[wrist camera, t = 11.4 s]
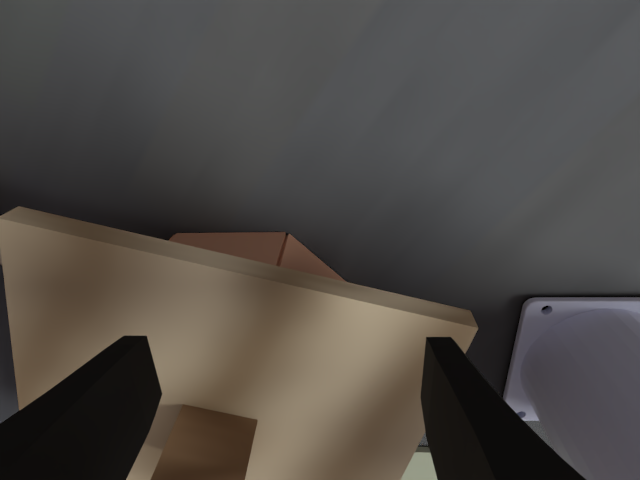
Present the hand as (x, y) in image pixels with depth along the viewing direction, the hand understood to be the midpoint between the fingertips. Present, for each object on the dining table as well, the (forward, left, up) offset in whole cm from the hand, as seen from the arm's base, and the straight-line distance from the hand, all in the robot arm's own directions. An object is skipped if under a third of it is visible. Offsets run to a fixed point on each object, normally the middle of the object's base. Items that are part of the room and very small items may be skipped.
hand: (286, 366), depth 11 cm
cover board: (+4, +7, -4) cm, 9 cm away
